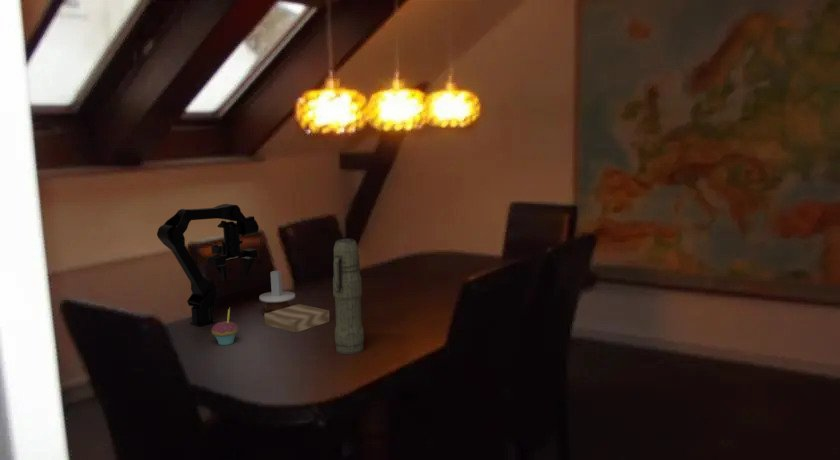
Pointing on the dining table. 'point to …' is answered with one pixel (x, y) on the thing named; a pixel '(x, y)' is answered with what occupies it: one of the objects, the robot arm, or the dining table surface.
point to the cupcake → (225, 331)
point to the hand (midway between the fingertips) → (235, 279)
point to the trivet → (296, 318)
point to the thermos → (347, 297)
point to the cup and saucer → (275, 306)
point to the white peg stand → (276, 290)
